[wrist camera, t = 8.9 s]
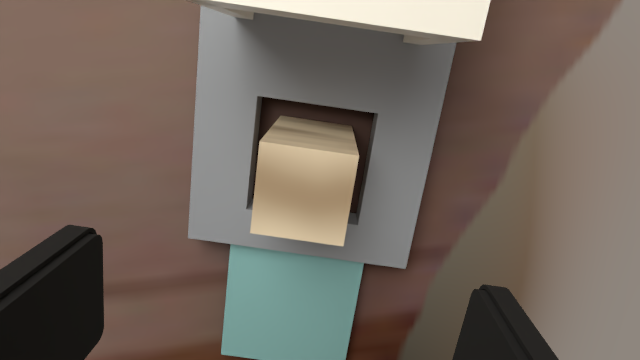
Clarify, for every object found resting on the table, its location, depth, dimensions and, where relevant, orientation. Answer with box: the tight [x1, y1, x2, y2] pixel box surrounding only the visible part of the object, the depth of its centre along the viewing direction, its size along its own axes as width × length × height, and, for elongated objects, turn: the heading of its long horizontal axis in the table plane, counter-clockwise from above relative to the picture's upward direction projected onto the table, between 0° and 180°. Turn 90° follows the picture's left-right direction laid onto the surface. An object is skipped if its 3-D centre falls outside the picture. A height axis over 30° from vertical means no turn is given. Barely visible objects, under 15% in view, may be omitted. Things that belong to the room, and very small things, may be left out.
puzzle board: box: [188, 6, 457, 269], centre depth 25 cm, size 24×14×2 cm, turn 172°
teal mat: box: [221, 244, 364, 360], centre depth 30 cm, size 9×9×1 cm
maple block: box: [250, 116, 359, 246], centre depth 23 cm, size 4×4×8 cm
